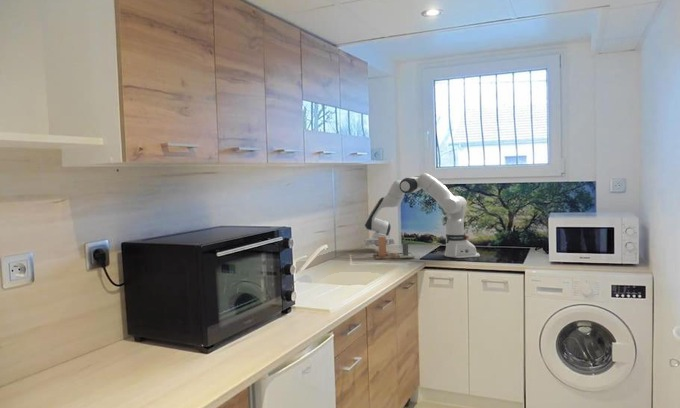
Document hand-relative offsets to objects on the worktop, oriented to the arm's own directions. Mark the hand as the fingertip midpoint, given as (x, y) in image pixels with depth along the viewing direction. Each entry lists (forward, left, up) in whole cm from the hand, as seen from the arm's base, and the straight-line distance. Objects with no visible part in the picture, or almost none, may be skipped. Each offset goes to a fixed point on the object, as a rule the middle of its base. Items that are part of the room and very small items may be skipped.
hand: (380, 242), depth 341 cm
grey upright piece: (-14, +20, -6) cm, 26 cm away
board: (-7, +14, -8) cm, 18 cm away
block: (0, +12, -7) cm, 14 cm away
